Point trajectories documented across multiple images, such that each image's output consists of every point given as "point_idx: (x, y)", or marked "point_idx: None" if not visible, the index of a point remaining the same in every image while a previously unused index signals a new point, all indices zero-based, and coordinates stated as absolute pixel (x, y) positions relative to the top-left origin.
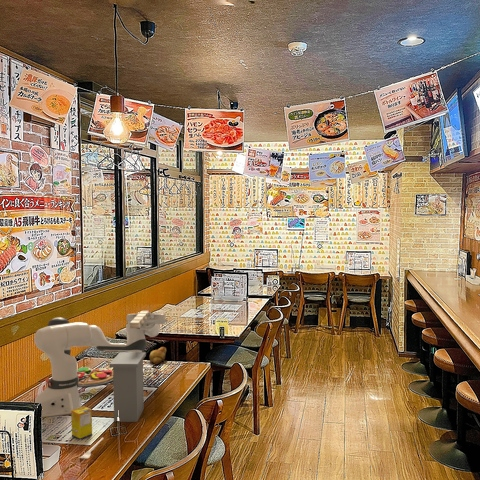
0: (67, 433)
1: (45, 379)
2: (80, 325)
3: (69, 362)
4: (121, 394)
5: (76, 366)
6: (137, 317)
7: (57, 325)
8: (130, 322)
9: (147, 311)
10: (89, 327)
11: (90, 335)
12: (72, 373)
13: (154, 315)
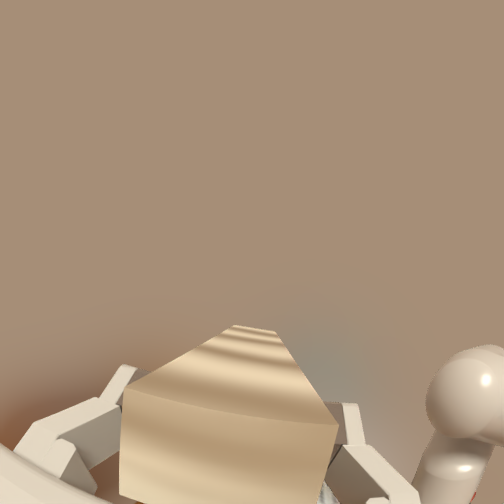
0: (321, 488)
1: (475, 493)
2: (455, 355)
3: (425, 449)
4: None
5: (421, 479)
6: (263, 339)
7: (484, 345)
8: (273, 331)
9: (176, 371)
10: (443, 371)
11: (427, 399)
12: (412, 482)
13: (2, 472)
